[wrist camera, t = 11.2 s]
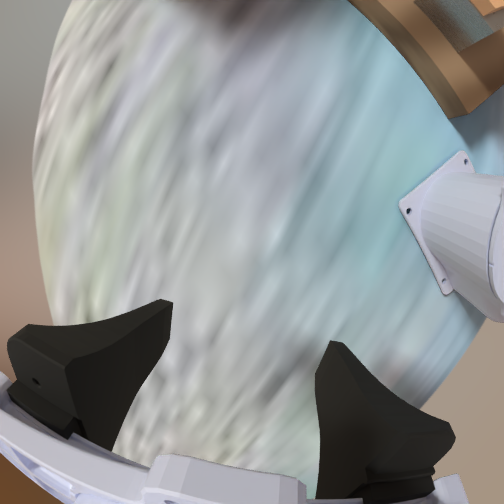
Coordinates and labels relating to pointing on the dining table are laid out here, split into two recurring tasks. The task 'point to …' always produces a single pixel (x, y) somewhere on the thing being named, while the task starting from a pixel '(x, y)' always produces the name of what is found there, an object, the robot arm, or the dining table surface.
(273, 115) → the dining table surface
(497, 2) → the cover
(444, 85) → the stand
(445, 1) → the base
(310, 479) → the dining table surface
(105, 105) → the dining table surface
